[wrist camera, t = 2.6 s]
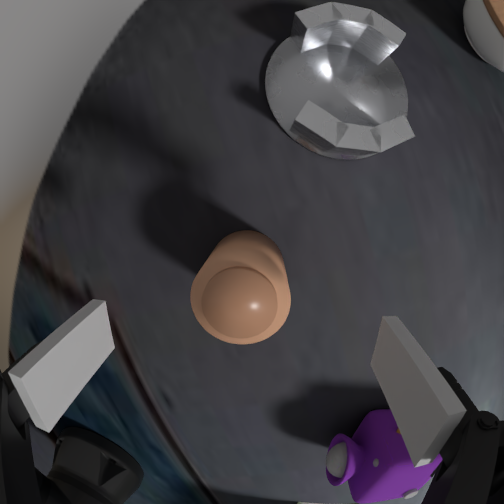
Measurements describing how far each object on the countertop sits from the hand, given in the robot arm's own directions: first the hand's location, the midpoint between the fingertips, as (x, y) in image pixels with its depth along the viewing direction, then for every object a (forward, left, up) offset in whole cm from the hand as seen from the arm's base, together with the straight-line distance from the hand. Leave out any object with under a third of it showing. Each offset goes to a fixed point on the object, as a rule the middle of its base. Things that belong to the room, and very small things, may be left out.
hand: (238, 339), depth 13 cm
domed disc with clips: (+7, +15, -12) cm, 20 cm away
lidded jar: (+25, +26, -12) cm, 38 cm away
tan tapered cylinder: (0, 0, -12) cm, 12 cm away
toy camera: (+16, -21, -12) cm, 29 cm away
